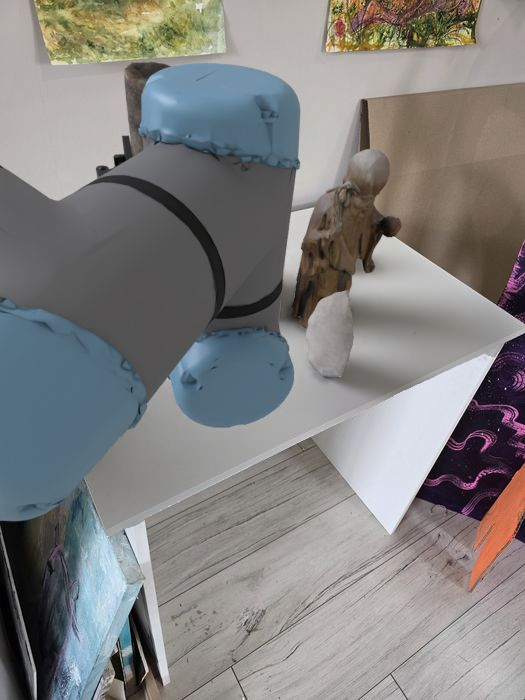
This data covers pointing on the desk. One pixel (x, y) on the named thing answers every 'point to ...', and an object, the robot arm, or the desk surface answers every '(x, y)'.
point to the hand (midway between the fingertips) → (162, 147)
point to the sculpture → (343, 233)
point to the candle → (137, 97)
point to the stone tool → (330, 335)
